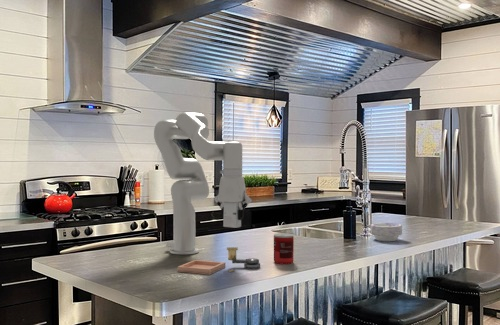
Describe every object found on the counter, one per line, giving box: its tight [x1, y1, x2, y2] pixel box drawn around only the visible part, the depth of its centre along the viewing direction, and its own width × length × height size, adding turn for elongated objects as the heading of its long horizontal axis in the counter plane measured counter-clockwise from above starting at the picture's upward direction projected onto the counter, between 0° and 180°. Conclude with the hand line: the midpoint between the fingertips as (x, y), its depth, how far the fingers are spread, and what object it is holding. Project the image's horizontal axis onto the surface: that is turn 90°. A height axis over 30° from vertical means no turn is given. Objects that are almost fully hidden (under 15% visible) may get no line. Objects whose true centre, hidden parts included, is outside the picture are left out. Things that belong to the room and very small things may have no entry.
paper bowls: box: [370, 222, 403, 242], centre depth 253 cm, size 15×15×8 cm
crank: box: [226, 246, 260, 264], centre depth 191 cm, size 12×5×6 cm, turn 87°
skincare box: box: [222, 202, 242, 229], centre depth 199 cm, size 6×4×12 cm
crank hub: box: [243, 262, 261, 270], centre depth 190 cm, size 6×6×1 cm
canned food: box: [273, 232, 295, 265], centre depth 199 cm, size 8×8×11 cm
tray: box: [177, 259, 226, 275], centre depth 187 cm, size 13×13×2 cm
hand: (232, 218), depth 199 cm, fingers closed on skincare box, 6 cm apart
